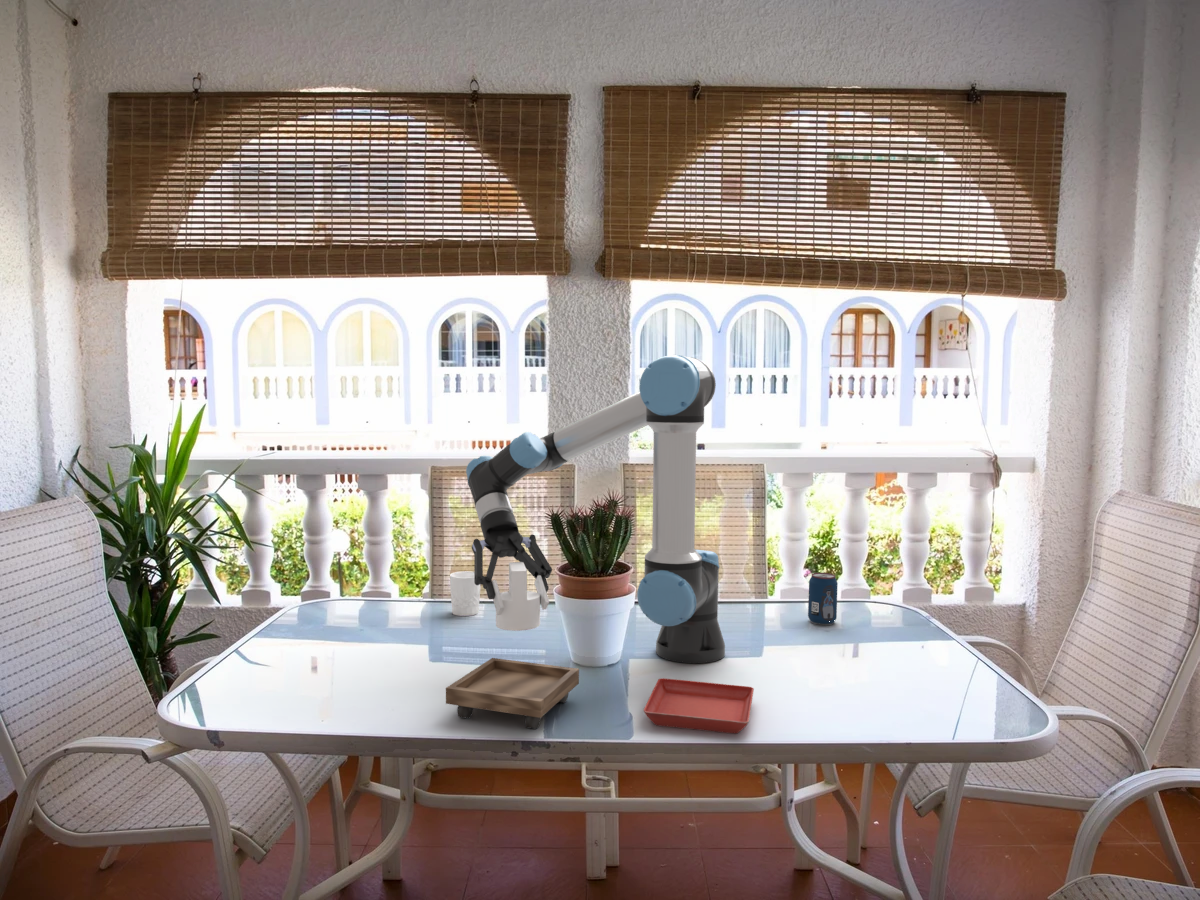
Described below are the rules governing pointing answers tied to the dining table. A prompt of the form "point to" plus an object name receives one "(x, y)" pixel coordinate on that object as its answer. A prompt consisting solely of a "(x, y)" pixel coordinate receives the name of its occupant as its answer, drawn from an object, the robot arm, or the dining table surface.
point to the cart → (513, 689)
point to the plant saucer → (699, 705)
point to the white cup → (464, 593)
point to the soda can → (822, 598)
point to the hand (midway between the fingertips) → (523, 608)
